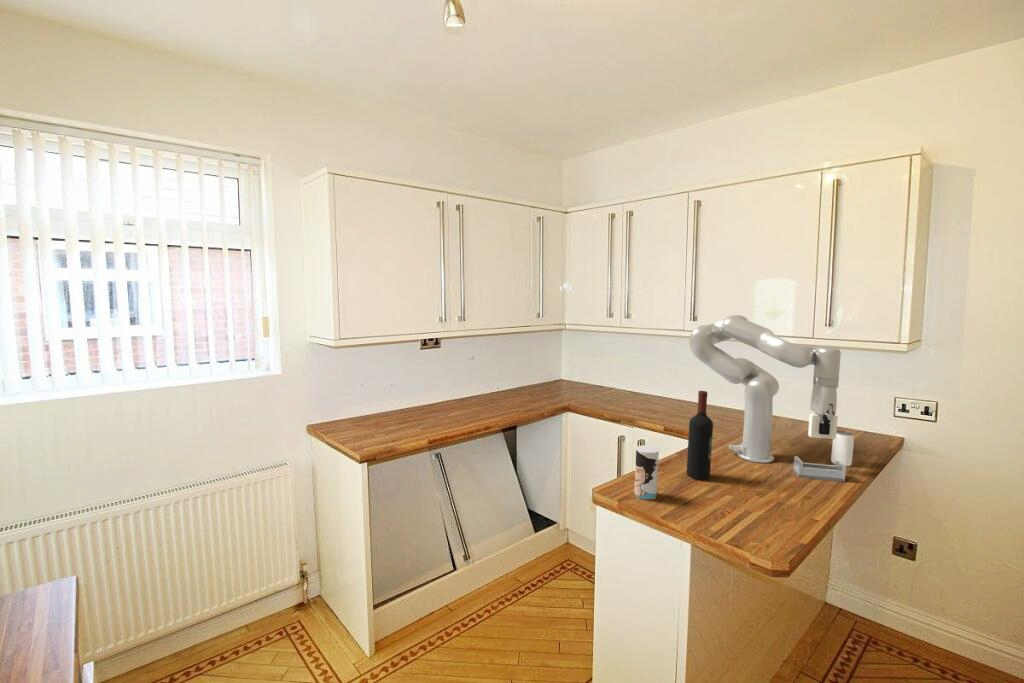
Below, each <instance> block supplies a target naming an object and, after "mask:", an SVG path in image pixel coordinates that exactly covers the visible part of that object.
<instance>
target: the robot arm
mask: <svg viewBox="0 0 1024 683" xmlns="http://www.w3.org/2000/svg"><path fill="white" fill-rule="evenodd" d="M689 335H690V336H689V341H688V342H689V348H690V350H691V352H692V353H693V354H692V355H694V357H696V358H697V359H698V360H699V361H700V362H701V363H703V364H704V365H705V366H707V367H708V368H710V369H712V371H714V372H715V373H717V374H718V375H719V376H720V377H722V378H723V379H725V381H727V382H729V383H731V384H734V385H736V384H737V385H738V384H742V385H743V386H745V388H744V413H743V414H744V415H743V428H742V429H743V433H742V442H740V444H739V443H738V444H736V445H735V444H728V449H729V450H732V451H733V452H736V453H737V456H738V457H739V458H741V459H743V460H746V461H750V462H754V463H759V464H760V463H761V464H764V463H771V462H773V461H774V459H775V457H774V455H773V454H771V452H770V451H771V439H772V425H773V406H774V404H773V403H774V402H773V400H774V399H773V398H774V396H776V395H777V393H778V392H779V389H780V384H779V381H778V379H776V378H775V377H774V376H773V375H772V374H771V373H769V372H768V371H766V370H764V369H763V368H762V367H760V366H759V365H757V364H755V363H754V362H752V361H750V360H749V359H747V358H742V357H737V358H735V357H733V356H732V355H731V354H728V353H727V352H726V351H724V350H723V349H721V348H719V347H717V346H715V344H718V343H722V342H725V341H728V340H732V339H733V340H735V341H738V342H740V343H742V344H745V345H747V346H749V347H751V348H754V349H756V350H758V351H760V352H761V353H764V354H765V355H767V356H769V357H770V358H773V359H775V360H777V361H779V362H782V363H784V364H786V365H789V366H791V367H794V368H797V369H798V368H799V369H800V368H806V367H808V366H811V365H812V366H813V378H812V379H813V380H812V386H813V387H812V391H811V397H810V406H809V409H810V410H811V411H812V412H814V414H819V415H821V423H820V424H819V434H824V435H829V434H830V424H831V420H833V416H834V415H835V416H836V414H837V407H838V406H837V405H838V404H837V402H838V397H837V396H838V395H837V394H838V393H837V389H838V388H839V381H840V370H841V368H840V367H841V356H842V354H841V353H842V352H841V350H840V349H839V348H837V347H830V346H813V345H809V344H800V345H797V344H795V343H792V342H790V341H788V340H785V339H783V338H781V337H779V336H777V335H776V334H775V333H774V332H773V330H771V329H770V328H768V327H765V326H763V325H760V324H757V323H755V322H752V321H751V320H750V321H749V320H748V318H747V317H746V316H743V315H740V314H735V315H729V316H726V317H725V318H724V319H722V320H719V321H716V322H712V323H710V324H704V325H702V324H701V325H699V326H697V327H695V328H694V329H692V331H691V333H690V334H689ZM824 417H825V418H824Z"/></svg>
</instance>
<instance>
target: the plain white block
mask: <svg viewBox="0 0 1024 683" xmlns="http://www.w3.org/2000/svg"><path fill="white" fill-rule="evenodd" d="M808 418H809V419H808V429H807V430H808V432H807V436H808V437H810V438H813V439H814V438H816V439H831V440H833V439H836V432H837V431H838V430H837V429H838V416H837V415H836V414H835V415H834V416H833V420H831V424H830V434H829V435H824V434H819V424H820V423H821V415H819V414H815V413H809V417H808ZM824 418H825V417H824Z"/></svg>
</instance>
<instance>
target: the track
mask: <svg viewBox="0 0 1024 683" xmlns="http://www.w3.org/2000/svg"><path fill="white" fill-rule="evenodd" d="M846 470H847V467H846V466H845V465H844V464H843V463H841V462H840V461H839V460H836V461H835V464H833V465H832V464H831V465H830V464H822V463H810V462H803V461H802V459H801V458H800V457H799V456H797V455H796V456H793V470H792V472H794V474H795V473H796V474H795V475H796V476H797V477H798V478H801V477H803V479H812V480H823V481H832V482H841V481H843V482H842V483H845V480H846V473H847V472H846Z"/></svg>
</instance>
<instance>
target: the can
mask: <svg viewBox="0 0 1024 683" xmlns="http://www.w3.org/2000/svg"><path fill="white" fill-rule="evenodd" d="M831 444H832V445H831V457H830V463H832V464H833V465H835V461H836V460H839V461H840V462H841V463H843V464H844V465H845V466H846V468H847V467H851V466H852V464H853V453H854V444H855V437H854V434H853V433H852V432H850V431H845V430H837V432H836V439H832V443H831Z"/></svg>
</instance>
